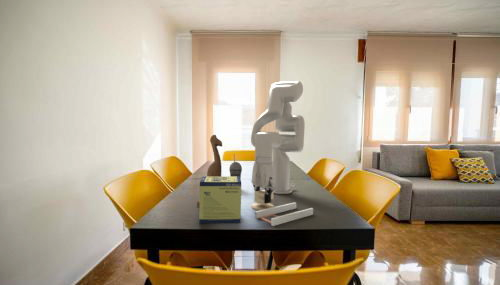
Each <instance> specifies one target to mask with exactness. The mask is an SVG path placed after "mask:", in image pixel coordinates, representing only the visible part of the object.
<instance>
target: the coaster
mask: <svg viewBox="0 0 500 285" xmlns="http://www.w3.org/2000/svg"><path fill="white" fill-rule="evenodd" d="M250 206H251V207H250V208H252V209H253V210H255V211H259V210H264V209H268V208H272V207H275V205H274V204H273V203H269V204H264V205H262V204H260V203H257V202H254V203H252V204H251V205H250Z"/></svg>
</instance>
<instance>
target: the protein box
mask: <svg viewBox="0 0 500 285" xmlns="http://www.w3.org/2000/svg"><path fill="white" fill-rule="evenodd" d="M198 198H199V200H198V201H199V206H198V207H199V210H198V213H199V215H198V223H199V224H239V223H240V224H241V222H242V221H241V214H242V212H241V211H242V180H241V179H240V176H231V177H230V176H221V177H208V176H207V175H206V176H202V177H201V179H200V180H199V197H198Z"/></svg>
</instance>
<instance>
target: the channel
mask: <svg viewBox="0 0 500 285" xmlns="http://www.w3.org/2000/svg"><path fill="white" fill-rule="evenodd" d="M296 209H297V202H295V201H294V202H290V203H285V204H282V205H281V204H280V205H277V206H274V207H272V208H268V209H264V210H255V211H254V212H255V213H254V214H255V219H260V218H259V217H263V216H267V215H271V214H274V215H276V214H280V213H283V212H284V213H285V212H287V211H292V210H296ZM313 215H314V208H313V207H310V208H309V207H308V208H306V209H302V210H299V211H298V210H297V211H294V212H291V213H287V214H283V215H278V216H279V217H275V218H271V223H270V224H271V225H270V226H272V227H275V226H278V225H281V224H282V225H283V224H286V223H288V222H291V221H296V220H299V219H302V218H305V217H309V216H313Z"/></svg>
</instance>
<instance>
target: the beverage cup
mask: <svg viewBox="0 0 500 285" xmlns="http://www.w3.org/2000/svg"><path fill="white" fill-rule="evenodd" d="M228 170H229V174H230V175H229V177H231V176H240V179H241V178H242V177H241V176H242V171H243V168H242V165H241V163H240V162H237V161H236V156H235V154H233V162H231V164H229V169H228Z"/></svg>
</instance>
